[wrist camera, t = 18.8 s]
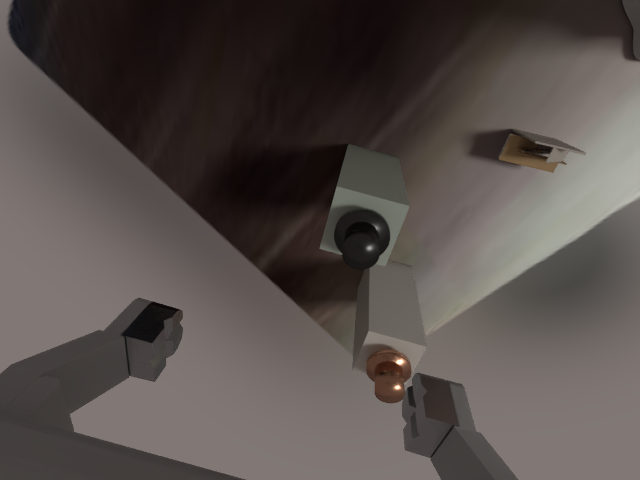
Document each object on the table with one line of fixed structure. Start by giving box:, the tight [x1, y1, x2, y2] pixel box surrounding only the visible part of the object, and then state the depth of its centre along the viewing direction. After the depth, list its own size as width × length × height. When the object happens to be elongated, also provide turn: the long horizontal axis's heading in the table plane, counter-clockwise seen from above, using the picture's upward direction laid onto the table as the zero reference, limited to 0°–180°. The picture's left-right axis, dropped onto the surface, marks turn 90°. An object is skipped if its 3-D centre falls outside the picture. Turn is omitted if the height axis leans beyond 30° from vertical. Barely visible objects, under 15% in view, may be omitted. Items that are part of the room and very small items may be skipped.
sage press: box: [320, 144, 410, 266], centre depth 40 cm, size 7×7×17 cm
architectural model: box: [498, 129, 586, 172], centre depth 40 cm, size 3×7×7 cm, turn 79°
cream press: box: [352, 260, 427, 385], centre depth 48 cm, size 7×7×17 cm
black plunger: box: [334, 208, 390, 269], centre depth 37 cm, size 5×5×18 cm
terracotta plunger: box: [366, 350, 412, 403], centre depth 45 cm, size 5×5×18 cm
